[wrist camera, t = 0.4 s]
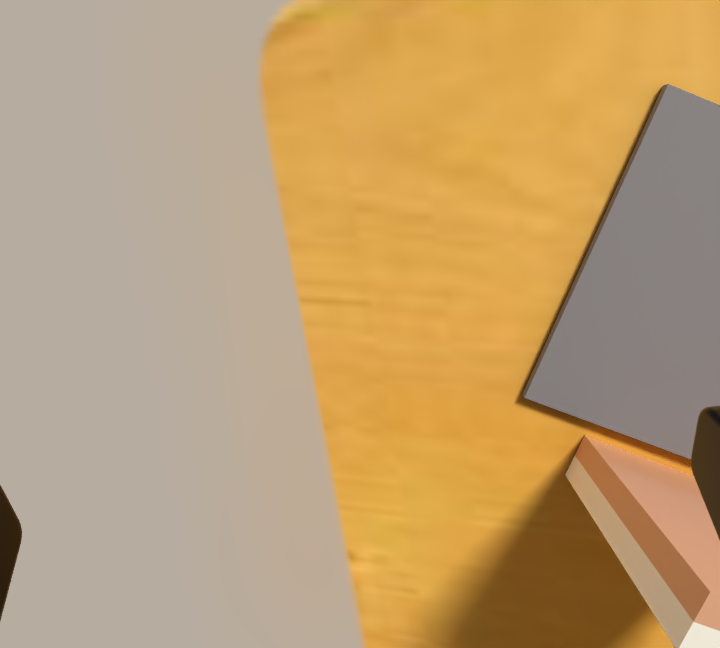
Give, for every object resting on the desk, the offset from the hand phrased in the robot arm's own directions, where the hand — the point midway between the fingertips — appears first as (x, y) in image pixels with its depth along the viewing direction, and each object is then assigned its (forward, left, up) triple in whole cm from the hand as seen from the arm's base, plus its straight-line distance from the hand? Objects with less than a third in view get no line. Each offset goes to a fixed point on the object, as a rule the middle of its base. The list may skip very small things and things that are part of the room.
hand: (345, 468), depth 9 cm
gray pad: (+6, -13, -17) cm, 22 cm away
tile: (-2, -14, -17) cm, 22 cm away
